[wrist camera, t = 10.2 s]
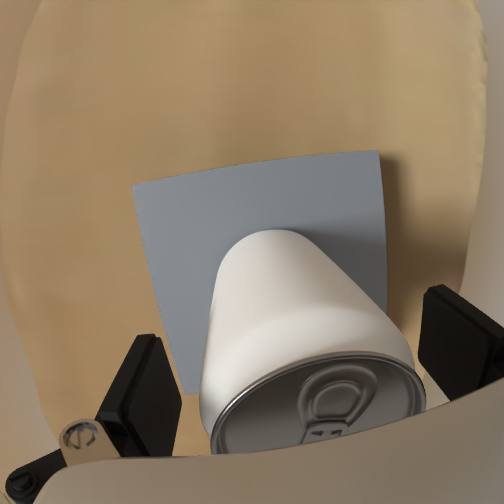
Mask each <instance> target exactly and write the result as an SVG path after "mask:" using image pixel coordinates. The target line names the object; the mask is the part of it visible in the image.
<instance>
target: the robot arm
mask: <svg viewBox="0 0 504 504" xmlns="http://www.w3.org/2000/svg"><path fill="white" fill-rule="evenodd" d="M418 359H419V362H420V363H421V365H422V366H423V367H424V368H425V370H426V371H427V372H428V373H429V375H430V376H431V377H432V378H433V380H434V381H435V382H436V383H437V385H438V386H439V387H440V389H441V390H442V391H443V392H444V394H445V395H446V396H447V398H448V399H449V400H450V402H447V403H445V404H442V405H440V406H437V407H434V408H431V409H429V410H426V411H423V412H420V413H418V414H415V415H412V416H409V417H406V418H403V419H400V420H396V421H393V422H390V423H387V424H383V425H380V426H377V427H373V428H369V429H366V430H362V431H358V432H354V433H350V434H346V435H342V436H338V437H333V438H329V439H324V440H319V441H314V442H309V443H304V444H298V445H293V446H287V447H280V448H273V449H266V450H259V451H250V452H241V453H230V454H216V455H199V456H172V452H173V447H174V442H175V437H176V432H177V426H178V421H179V417H180V412H181V407H182V400H181V396H180V393H179V390H178V387H177V384H176V382H175V379H174V376H173V373H172V370H171V367H170V364H169V361H168V358H167V355H166V352H165V349H164V346H163V343H162V340H161V338H160V337H156V336H155V334H143V335H137V337H136V339H135V340H134V342H133V344H132V346H131V348H130V350H129V352H128V354H127V355H126V357H125V359H124V361H123V363H122V365H121V367H120V369H119V371H118V373H117V375H116V377H115V379H114V380H113V382H112V384H111V386H110V388H109V390H108V392H107V394H106V396H105V398H104V400H103V402H102V404H101V406H100V409H99V411H98V413H97V415H96V417H95V419H94V420H93V419H80V420H76V421H74V422H72V423H70V424H68V425H67V426H66V427H65V428H64V429H63V430H62V432H61V433H60V435H59V445H60V449H58V450H56V451H54V452H52V453H50V454H48V455H46V456H43V457H41V458H39V459H37V460H35V461H33V462H31V463H29V464H26V465H24V466H22V467H20V468H18V469H16V470H15V471H13V472H12V473H11V474H10V475H9V477H8V478H7V480H6V485H5V488H6V492H5V493H4V494H3V493H2V492H1V491H0V504H504V328H503V327H502V326H501V325H499V324H498V323H497V322H495V321H494V320H492V319H491V318H490V317H489V316H487V315H486V314H485V313H483V312H482V311H480V310H479V309H478V308H476V307H475V306H474V305H472V304H471V303H469V302H468V301H467V300H465V299H464V298H462V297H461V296H460V295H458V294H457V293H455V292H454V291H452V290H451V289H450V288H448V287H447V286H445V285H443V284H441V285H437V286H433V287H429V288H428V290H427V292H425V294H424V299H423V311H422V322H421V332H420V340H419V348H418Z"/></svg>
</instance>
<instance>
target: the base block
mask: <svg viewBox="0 0 504 504" xmlns="http://www.w3.org/2000/svg"><path fill="white" fill-rule="evenodd" d="M132 190H133V196H134V201H135V207H136V212H137V217H138V222H139V227H140V232H141V237H142V241H143V246H144V251H145V255H146V259H147V264H148V268H149V272H150V276H151V281H152V285H153V289H154V293H155V296H156V300H157V304H158V308H159V312H160V315H161V319H162V322H163V326H164V329H165V333H166V336H167V340H168V343H169V347H170V350H171V353H172V356H173V360H174V363H175V366H176V369H177V372H178V375H179V378H180V381H181V384H182V387H183V390H184V393H185V394H196V393H199V390H200V379H201V371H202V364H203V357H204V350H205V343H206V336H207V330H208V324H209V317H210V311H211V305H212V299H213V293H214V288H215V282H216V277H217V273H218V270H219V267H220V265H221V262H222V261H223V259H224V257H225V256H226V254H227V253H228V251H229V250H230V249H231V248H232V247H233V246H234V245H235V244H236V243H238V242H239V241H240V240H242V239H243V238H245V237H247V236H249V235H251V234H253V233H256V232H260V231H265V230H288V231H293V232H296V233H298V234H300V235H302V236H304V237H305V238H307V239H308V240H310V241H311V242H312V243H313V244H315V245H316V246H317V247H318V248H319V249H320V250H321V251H322V252H323V253H325V254H326V255H327V256H328V257H329V258H330V259H331V260H332V261H333V262H334V263H335V264H336V265H337V266H338V267H339V268H340V269H341V270H342V271H343V272H344V273H345V274H346V275H347V276H348V277H349V278H350V279H351V280H352V281H354V282H355V283H356V284H357V285H358V286H359V287H360V288H361V289H362V290H363V291H364V292H365V293H366V294H367V295H368V297H369V298H370V299H371V300H372V301H373V302H374V303H375V304H376V305H377V306H378V307H379V308H380V309H381V310H382V311H383V312H384V313H385V314H386V315H387V249H386V227H385V212H384V199H383V188H382V178H381V169H380V160H379V152H378V150H368V151H354V152H342V153H331V154H321V155H311V156H302V157H293V158H285V159H277V160H269V161H262V162H255V163H248V164H241V165H235V166H229V167H222V168H216V169H211V170H205V171H199V172H194V173H188V174H183V175H178V176H173V177H168V178H163V179H158V180H153V181H148V182H144V183H139V184H135V185H132Z"/></svg>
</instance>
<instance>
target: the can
mask: <svg viewBox="0 0 504 504" xmlns="http://www.w3.org/2000/svg"><path fill="white" fill-rule="evenodd" d="M199 409H200V416H201V420H202V423H203V425H204V428H205V430H206V432H207V434H208V436H209V438H210V439H211V440H210V448H211V454H212V455H216V454H230V453H241V452H250V451H259V450H266V449H273V448H280V447H287V446H293V445H298V444H304V443H309V442H314V441H319V440H324V439H329V438H333V437H338V436H342V435H346V434H350V433H354V432H358V431H362V430H366V429H369V428H373V427H377V426H380V425H383V424H387V423H390V422H393V421H396V420H400V419H403V418H406V417H409V416H412V415H415V414H418V413H420V412H423V411H425V409H426V393H425V389H424V386H423V383H422V381H421V379H420V377H419V376H418V375H417V373H416V372H415V364H414V359H413V355H412V352H411V349H410V346H409V344H408V342H407V340H406V339H405V337H404V336H403V334H402V333H401V331H400V330H399V329H398V328H397V326H396V325H395V324H394V323H393V322H392V321H391V320H390V318H389V317H388V316H387V315H386V314H385V313H384V312H383V311H382V310H381V309H380V308H379V307H378V306H377V305H376V304H375V303H374V302H373V301H372V300H371V299H370V298H369V297H368V295H367V294H366V293H365V292H364V291H363V290H362V289H361V288H360V287H359V286H358V285H357V284H356V283H355V282H354V281H352V280H351V279H350V278H349V277H348V276H347V275H346V274H345V273H344V272H343V271H342V270H341V269H340V268H339V267H338V266H337V265H336V264H335V263H334V262H333V261H332V260H331V259H330V258H329V257H328V256H327V255H326V254H325V253H323V252H322V251H321V250H320V249H319V248H318V247H317V246H316V245H315V244H313V243H312V242H311V241H310V240H308V239H307V238H305V237H304V236H302V235H300V234H298V233H296V232H293V231H288V230H265V231H260V232H256V233H253V234H251V235H249V236H247V237H245V238H243V239H242V240H240V241H239V242H238V243H236V244H235V245H234V246H233V247H232V248H231V249H230V250H229V251H228V253H227V254H226V256H225V257H224V259H223V261H222V262H221V265H220V267H219V270H218V273H217V277H216V282H215V288H214V293H213V299H212V305H211V311H210V317H209V324H208V330H207V336H206V343H205V350H204V357H203V364H202V371H201V379H200V390H199Z"/></svg>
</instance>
